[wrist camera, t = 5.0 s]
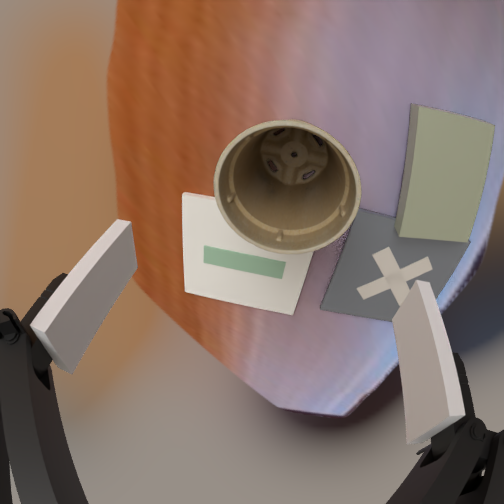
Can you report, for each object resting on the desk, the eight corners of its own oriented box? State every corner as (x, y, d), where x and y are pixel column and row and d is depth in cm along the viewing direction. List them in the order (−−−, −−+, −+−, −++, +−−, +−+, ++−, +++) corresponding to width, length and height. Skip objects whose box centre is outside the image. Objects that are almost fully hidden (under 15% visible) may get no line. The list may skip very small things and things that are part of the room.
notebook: (410, 103, 20) (418, 106, 18) (484, 120, 19) (494, 125, 17) (394, 226, 27) (399, 236, 25) (460, 232, 25) (467, 242, 24)
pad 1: (184, 192, 29) (181, 195, 29) (322, 218, 29) (322, 222, 28) (186, 288, 38) (184, 292, 38) (293, 311, 37) (292, 316, 37)
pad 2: (357, 207, 27) (358, 211, 26) (468, 239, 26) (470, 242, 26) (320, 305, 36) (320, 310, 35) (416, 322, 35) (417, 326, 34)
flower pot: (223, 165, 27) (191, 211, 20) (274, 80, 21) (258, 90, 15) (307, 216, 29) (304, 275, 22) (367, 141, 23) (390, 181, 16)
